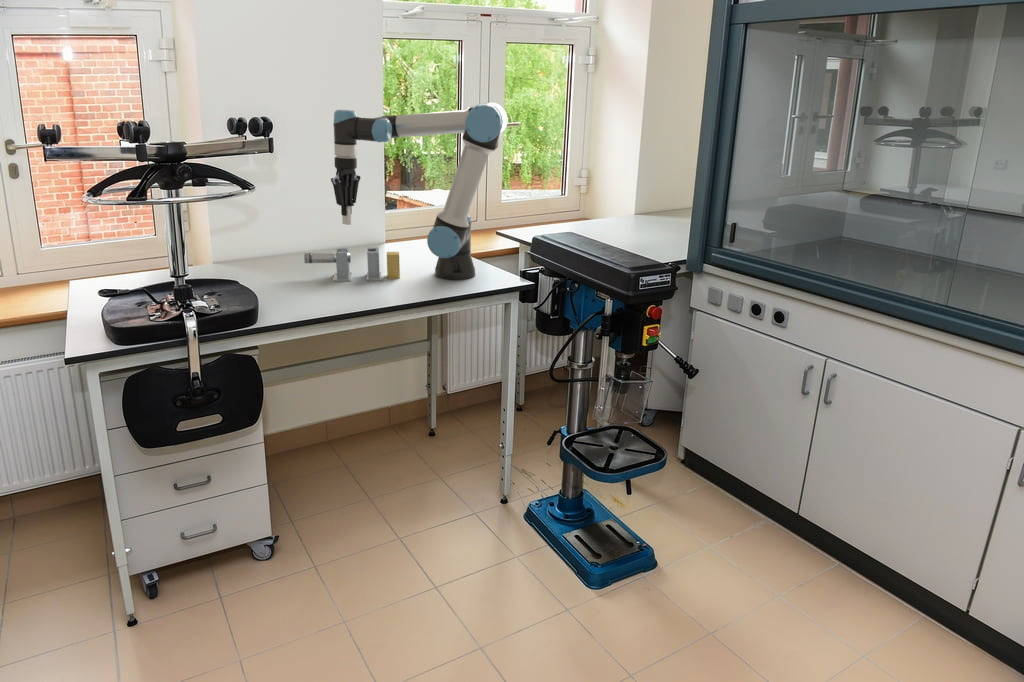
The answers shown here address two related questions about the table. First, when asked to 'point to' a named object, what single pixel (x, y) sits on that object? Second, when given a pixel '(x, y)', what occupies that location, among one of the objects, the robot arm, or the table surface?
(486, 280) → the table surface
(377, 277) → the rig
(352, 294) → the table surface
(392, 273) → the spacer
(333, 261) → the shaft
